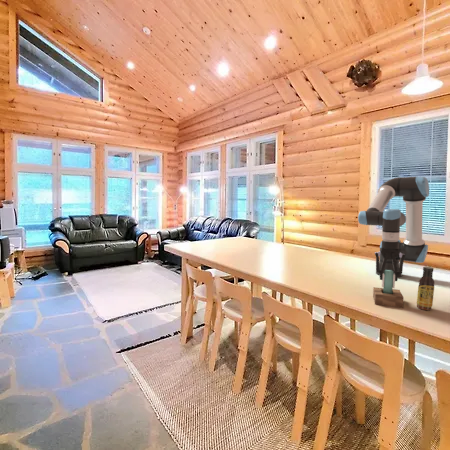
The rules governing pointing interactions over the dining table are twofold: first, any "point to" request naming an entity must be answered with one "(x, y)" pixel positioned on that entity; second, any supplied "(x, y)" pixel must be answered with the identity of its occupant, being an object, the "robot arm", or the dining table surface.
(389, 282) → the dowel
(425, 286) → the sauce bottle
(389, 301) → the socket block
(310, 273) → the dining table surface
